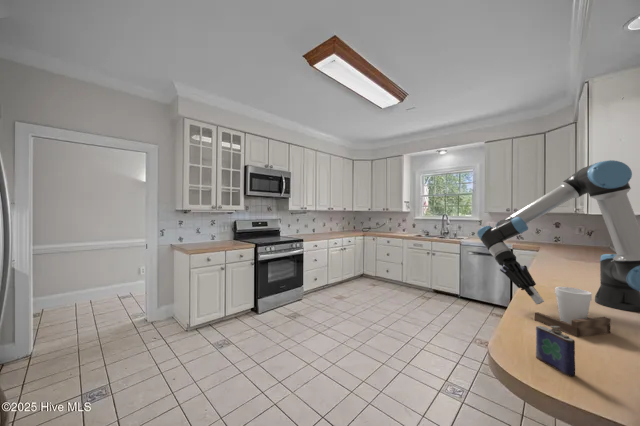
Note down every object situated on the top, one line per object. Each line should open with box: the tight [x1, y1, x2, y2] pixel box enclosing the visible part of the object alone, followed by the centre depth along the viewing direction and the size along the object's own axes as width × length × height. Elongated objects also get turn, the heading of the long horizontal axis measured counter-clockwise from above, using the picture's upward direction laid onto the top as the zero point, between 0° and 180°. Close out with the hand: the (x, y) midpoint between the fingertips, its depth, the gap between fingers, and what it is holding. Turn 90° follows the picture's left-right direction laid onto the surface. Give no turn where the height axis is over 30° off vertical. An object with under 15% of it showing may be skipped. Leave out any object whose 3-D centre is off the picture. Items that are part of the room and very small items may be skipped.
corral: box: [534, 311, 611, 338], centre depth 92 cm, size 15×14×5 cm
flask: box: [535, 325, 576, 378], centre depth 67 cm, size 9×3×11 cm, turn 8°
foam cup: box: [554, 286, 593, 324], centre depth 93 cm, size 10×9×13 cm
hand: (540, 302), depth 102 cm, fingers closed
